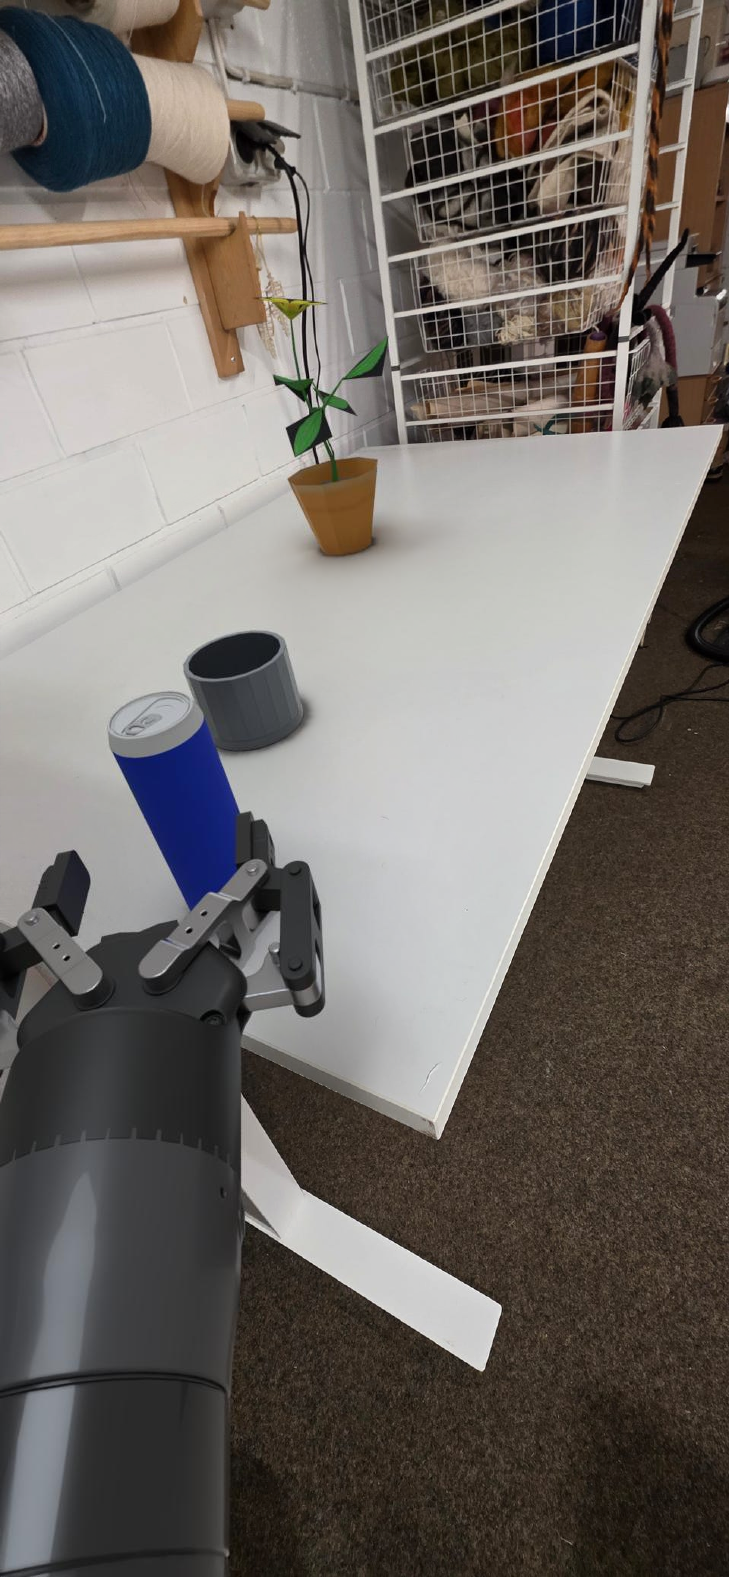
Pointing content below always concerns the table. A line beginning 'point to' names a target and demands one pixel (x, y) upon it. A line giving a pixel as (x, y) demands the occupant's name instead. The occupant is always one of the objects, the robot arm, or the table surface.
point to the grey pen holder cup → (245, 689)
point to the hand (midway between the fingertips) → (162, 844)
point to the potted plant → (331, 457)
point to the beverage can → (178, 788)
